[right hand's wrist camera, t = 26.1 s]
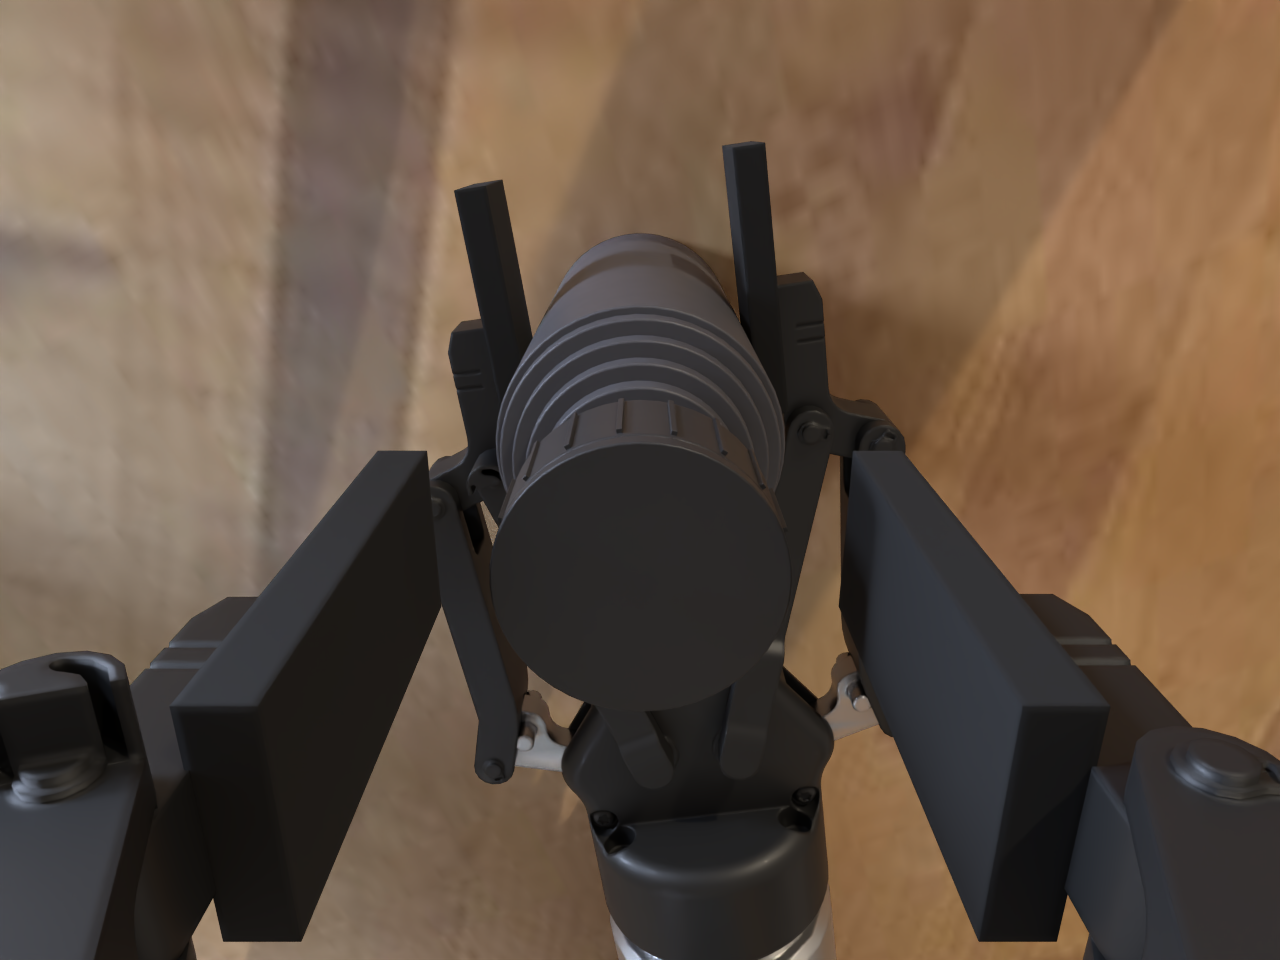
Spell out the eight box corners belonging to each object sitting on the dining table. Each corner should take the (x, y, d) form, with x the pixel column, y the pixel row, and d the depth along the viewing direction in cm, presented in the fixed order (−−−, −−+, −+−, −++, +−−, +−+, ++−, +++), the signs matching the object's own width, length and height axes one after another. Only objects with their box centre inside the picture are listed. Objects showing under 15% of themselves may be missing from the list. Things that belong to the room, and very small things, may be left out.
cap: (559, 353, 13) (546, 391, 11) (821, 456, 14) (850, 508, 12) (470, 589, 15) (444, 657, 13) (710, 674, 15) (720, 750, 14)
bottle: (618, 196, 28) (588, 286, 12) (763, 302, 29) (917, 517, 13) (519, 344, 30) (373, 602, 13) (660, 439, 31) (682, 779, 15)
